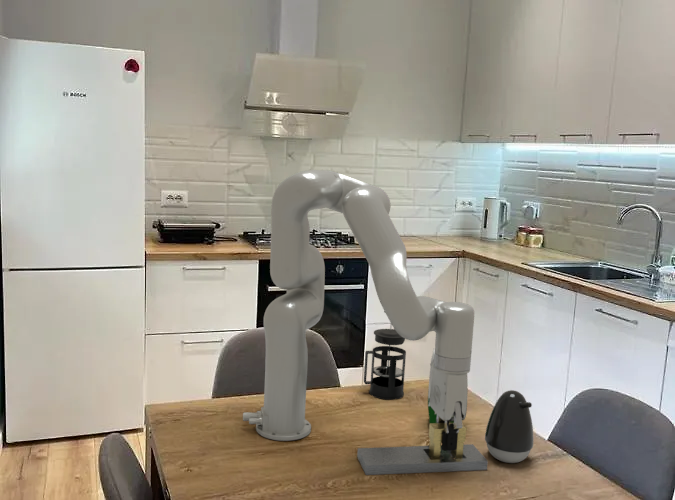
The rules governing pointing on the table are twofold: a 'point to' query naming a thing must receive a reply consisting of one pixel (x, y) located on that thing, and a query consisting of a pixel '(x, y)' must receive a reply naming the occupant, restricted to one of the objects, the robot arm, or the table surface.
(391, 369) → the french press
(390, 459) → the grey flat board
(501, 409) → the pump dispenser
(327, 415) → the table surface
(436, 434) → the tan wooden block
